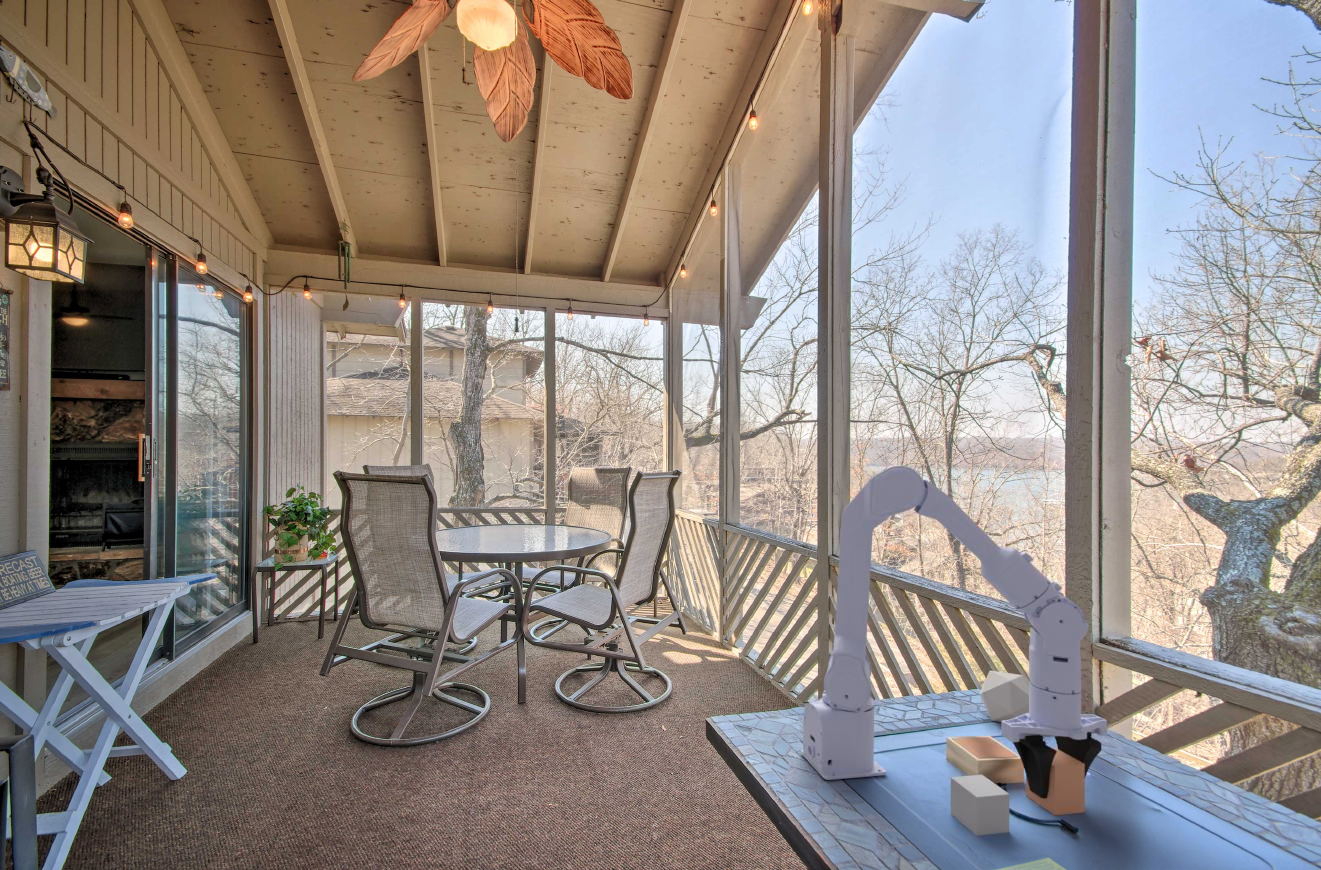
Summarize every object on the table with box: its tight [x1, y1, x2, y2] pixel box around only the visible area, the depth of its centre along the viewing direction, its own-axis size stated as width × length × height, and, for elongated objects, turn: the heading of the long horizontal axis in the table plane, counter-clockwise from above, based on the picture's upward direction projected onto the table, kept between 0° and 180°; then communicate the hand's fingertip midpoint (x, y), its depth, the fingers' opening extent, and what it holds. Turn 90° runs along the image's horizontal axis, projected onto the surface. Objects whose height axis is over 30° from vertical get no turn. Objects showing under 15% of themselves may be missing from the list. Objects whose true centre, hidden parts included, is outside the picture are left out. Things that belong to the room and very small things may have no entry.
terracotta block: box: [1025, 746, 1086, 816], centre depth 77 cm, size 4×4×6 cm
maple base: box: [945, 735, 1025, 785], centre depth 86 cm, size 7×7×4 cm
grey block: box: [950, 775, 1010, 837], centre depth 73 cm, size 4×4×4 cm
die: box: [978, 670, 1029, 723], centre depth 103 cm, size 8×9×10 cm
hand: (1054, 792), depth 77 cm, fingers closed on terracotta block, 4 cm apart
